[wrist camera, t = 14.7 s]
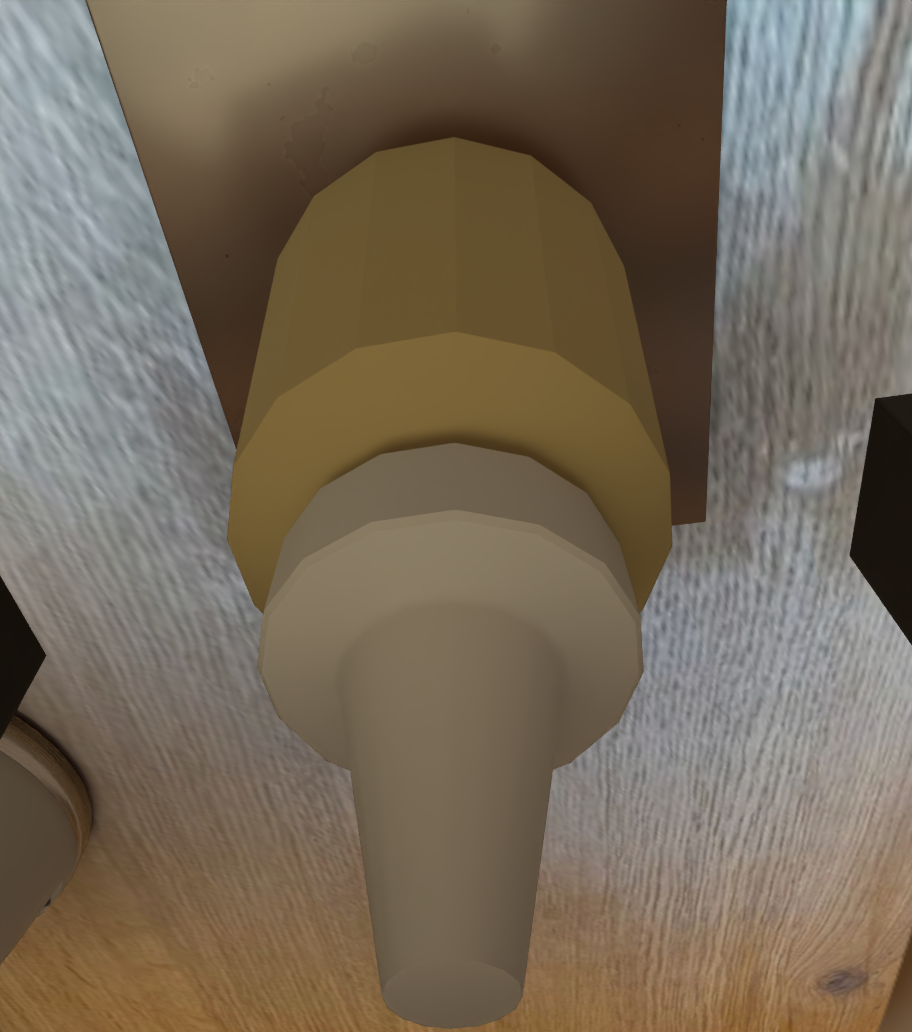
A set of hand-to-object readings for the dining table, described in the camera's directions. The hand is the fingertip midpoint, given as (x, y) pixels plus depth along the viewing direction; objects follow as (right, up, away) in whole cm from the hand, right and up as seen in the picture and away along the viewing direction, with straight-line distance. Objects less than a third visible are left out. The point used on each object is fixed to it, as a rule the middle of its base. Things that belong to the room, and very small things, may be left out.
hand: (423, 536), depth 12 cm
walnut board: (0, +7, +10) cm, 13 cm away
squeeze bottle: (0, +7, +9) cm, 12 cm away
